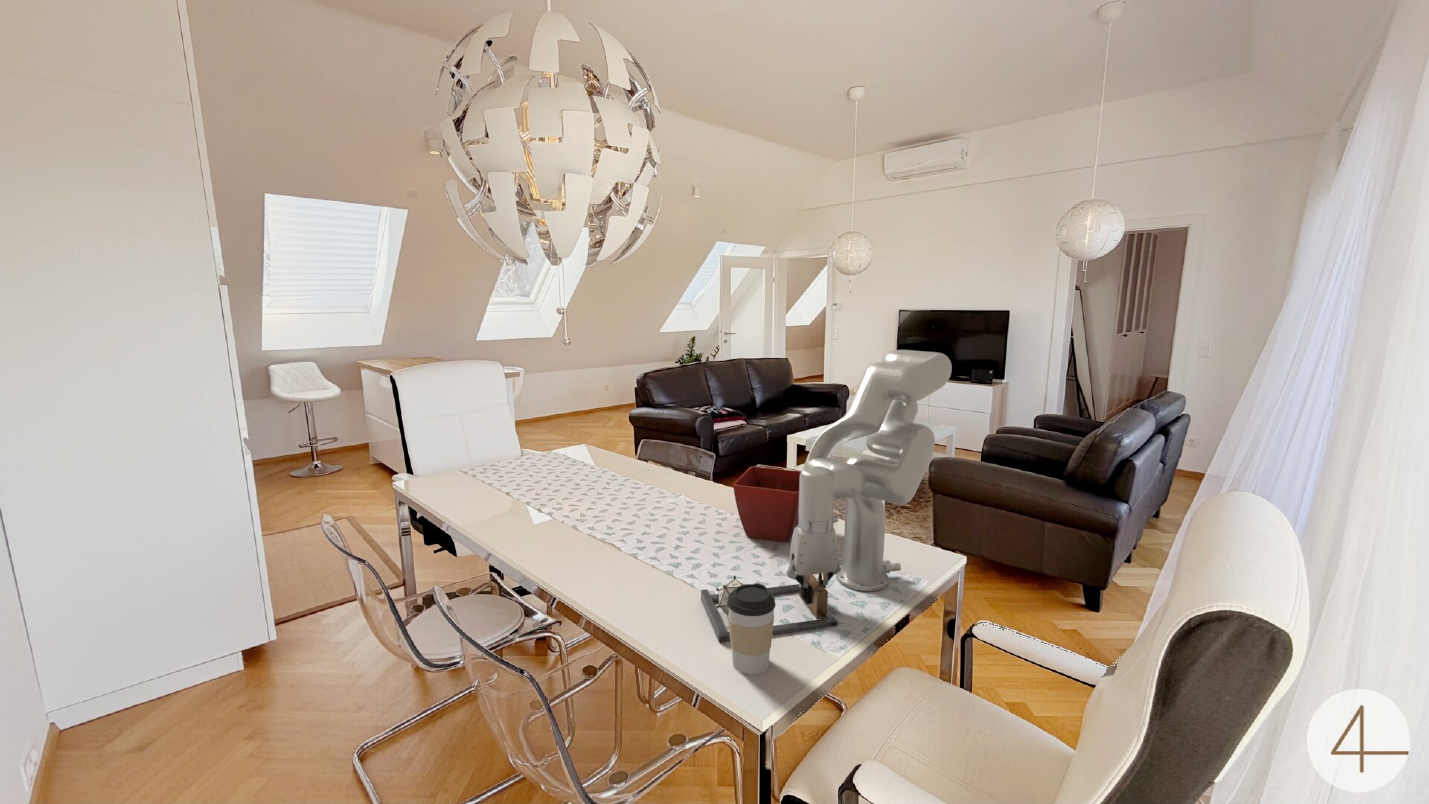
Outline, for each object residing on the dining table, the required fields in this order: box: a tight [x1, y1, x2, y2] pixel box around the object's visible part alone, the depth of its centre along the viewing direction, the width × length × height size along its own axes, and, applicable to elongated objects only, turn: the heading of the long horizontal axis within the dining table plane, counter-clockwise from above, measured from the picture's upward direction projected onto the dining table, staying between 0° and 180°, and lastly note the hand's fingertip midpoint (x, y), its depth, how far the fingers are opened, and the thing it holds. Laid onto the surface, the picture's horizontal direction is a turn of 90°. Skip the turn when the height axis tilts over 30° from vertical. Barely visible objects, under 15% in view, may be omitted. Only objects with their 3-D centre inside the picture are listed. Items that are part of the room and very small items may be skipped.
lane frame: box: [700, 574, 838, 643], centre depth 128 cm, size 26×17×6 cm, turn 104°
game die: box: [715, 575, 744, 614], centre depth 127 cm, size 9×8×10 cm
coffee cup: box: [727, 582, 776, 676], centre depth 109 cm, size 9×9×15 cm
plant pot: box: [732, 465, 802, 543], centre depth 171 cm, size 19×19×17 cm
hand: (812, 599), depth 131 cm, fingers closed on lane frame, 2 cm apart
